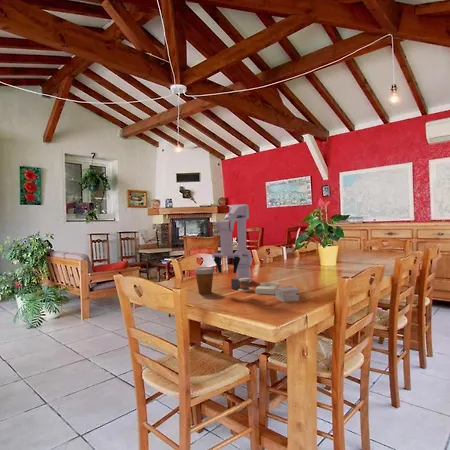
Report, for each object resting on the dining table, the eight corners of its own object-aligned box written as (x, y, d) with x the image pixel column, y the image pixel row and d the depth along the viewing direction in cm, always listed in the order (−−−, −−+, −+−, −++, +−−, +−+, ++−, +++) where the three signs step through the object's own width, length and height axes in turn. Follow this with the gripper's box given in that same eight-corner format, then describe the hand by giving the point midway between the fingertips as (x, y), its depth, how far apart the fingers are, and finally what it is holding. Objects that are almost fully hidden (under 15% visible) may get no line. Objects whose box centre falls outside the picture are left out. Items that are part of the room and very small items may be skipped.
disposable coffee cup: (217, 290, 167) (216, 267, 166) (211, 295, 157) (210, 270, 157) (199, 290, 169) (198, 267, 169) (192, 294, 160) (191, 269, 160)
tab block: (233, 287, 174) (233, 277, 174) (240, 287, 173) (239, 277, 173) (231, 288, 171) (231, 279, 170) (238, 289, 169) (237, 279, 169)
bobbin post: (240, 288, 171) (239, 277, 171) (253, 288, 168) (253, 277, 168) (236, 291, 164) (236, 280, 164) (250, 291, 162) (249, 280, 162)
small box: (282, 302, 140) (282, 290, 140) (275, 298, 147) (274, 287, 147) (299, 300, 142) (299, 288, 142) (290, 296, 150) (290, 285, 149)
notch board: (262, 286, 173) (262, 282, 172) (279, 287, 170) (279, 282, 170) (255, 293, 157) (255, 288, 157) (274, 294, 154) (274, 289, 154)
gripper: (209, 245, 158) (210, 273, 158) (238, 245, 153) (239, 274, 153) (214, 244, 164) (215, 271, 165) (242, 243, 160) (243, 271, 160)
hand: (227, 272), depth 159 cm, fingers open, 7 cm apart
